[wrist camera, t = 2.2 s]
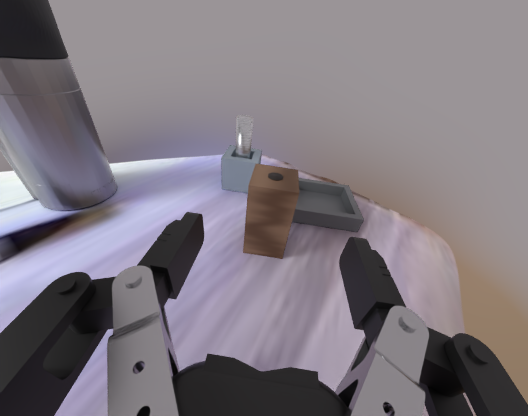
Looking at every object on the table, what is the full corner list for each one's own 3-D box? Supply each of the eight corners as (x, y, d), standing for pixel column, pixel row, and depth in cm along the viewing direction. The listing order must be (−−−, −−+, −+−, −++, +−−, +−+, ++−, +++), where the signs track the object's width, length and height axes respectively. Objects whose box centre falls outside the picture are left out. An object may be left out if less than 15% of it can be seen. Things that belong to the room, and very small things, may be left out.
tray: (280, 219, 32) (283, 207, 30) (282, 187, 40) (285, 175, 38) (357, 232, 32) (363, 219, 30) (343, 196, 39) (348, 185, 38)
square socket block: (221, 189, 37) (221, 157, 33) (229, 173, 41) (230, 145, 38) (254, 194, 37) (257, 163, 33) (258, 178, 41) (262, 149, 38)
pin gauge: (233, 185, 38) (234, 118, 31) (236, 179, 40) (238, 114, 33) (246, 188, 38) (251, 120, 31) (249, 181, 40) (254, 116, 33)
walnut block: (243, 252, 26) (248, 184, 20) (249, 226, 30) (255, 162, 24) (282, 258, 26) (299, 192, 20) (283, 231, 30) (298, 169, 24)
